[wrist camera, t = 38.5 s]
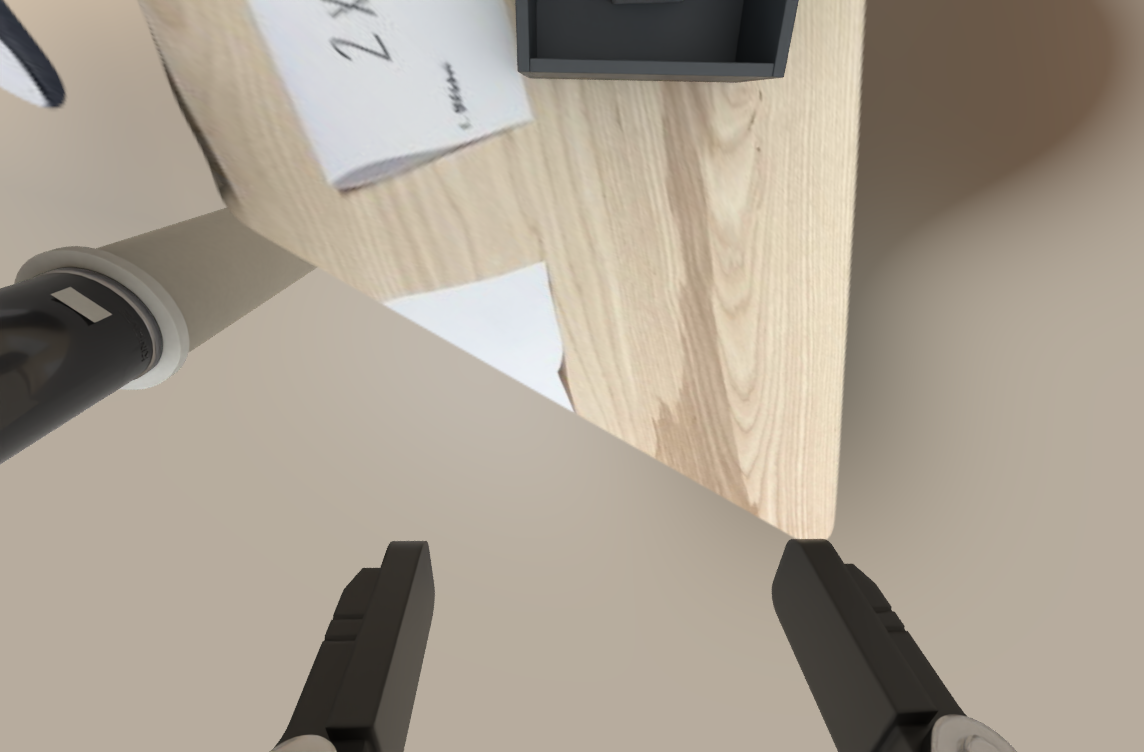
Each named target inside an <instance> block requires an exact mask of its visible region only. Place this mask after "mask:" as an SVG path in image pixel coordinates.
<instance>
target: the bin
mask: <svg viewBox="0 0 1144 752" xmlns="http://www.w3.org/2000/svg"><path fill="white" fill-rule="evenodd" d="M798 1H799V0H683V1H682V2H675V3H634V4H613V3H612V0H516V33H517V66H518V72H520V73H521V74H523V75H525V76H527V77H528V78H546V79H594V80H642V81H690V82H746V81H755V80H764V79H773V78H782V77H784V73H785V68H786V63H787V58H788V53H789V47H790V42H791V37H792V32H793V27H794V21H795V16H796V11H797V6H798Z"/></svg>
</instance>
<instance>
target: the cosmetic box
mask: <svg viewBox="0 0 1144 752" xmlns="http://www.w3.org/2000/svg"><path fill="white" fill-rule="evenodd" d="M682 1H683V0H612V3H613V4H634V3H675V2H682Z"/></svg>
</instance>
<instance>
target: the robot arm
mask: <svg viewBox="0 0 1144 752" xmlns="http://www.w3.org/2000/svg"><path fill="white" fill-rule="evenodd" d="M162 352H163V339H162V334H161V330H160V328H159V325H158V323H157V321H156V319H155V317H154V316H153V314H152V313H151V311H150V310H149V309H148V307H147V306H146V305H145V304H144V303H143V302H142V301H141V299H139V298H138V297H137V296H136V295H135V294H134V293H133V292H132V291H130V290H129V289H128V288H126V287H125V286H124V285H122V284H120V283H119V282H117V281H116V280H114V279H112V278H110V277H108V276H106V275H103V274H101V273H98V272H95V271H92V270H88V269H84V268H76V267H64V268H58V269H54V270H51V271H48V272H45V273H42V274H39V275H37V276H35V277H33V278H32V279H29V280H26V281H23V282H20V283H16V284H14V285H10V286H7V287H4V288H1V289H0V464H2V463H3V462H5V461H6V460H8V459H9V458H11V457H13V456H14V455H16V454H17V453H19V452H20V451H22V450H24V449H25V448H26V447H28V446H30V445H31V444H33V443H35V442H36V441H37V440H39V439H41V438H42V437H44V436H46V435H47V434H48V433H50V432H52V431H53V430H55V429H57V428H58V427H60V426H61V425H63V424H64V423H66V422H68V421H69V420H71V419H72V418H74V417H75V416H77V415H79V414H80V413H82V412H83V411H84V410H86V409H88V408H90V407H91V406H93V405H94V404H96V403H97V402H99V401H101V400H102V399H104V398H105V397H107V396H108V395H110V394H112V393H113V392H115V391H116V390H118V389H120V388H121V387H123V386H124V385H126V384H127V383H129V382H130V381H132V380H135V379H137V378H139V377H141V376H142V375H144V374H145V373H147V372H148V371H150V370H151V369H153V368H154V367H155V366H156V365H157V363H158V362H159V360H160V358H161V356H162ZM434 592H435V590H434V580H433V573H432V566H431V559H430V552H429V546H428V542H427V541H392V542H390V544H389V546H388V548H387V550H386V553H385V556H384V559H383V562H382V565H381V568H362V570H361V571H360V572H359V573H358V574H357V575H356V576H355V577H354V579H353V580H352V581H351V582H350V583H349V584H348V585H347V586H346V588H345V589H344V590H343V593H342V595H341V598H340V600H339V603H338V605H337V607H336V610H335V612H334V615H333V620H331V622H330V624H329V627H328V630H327V632H326V635H325V640H324V641H323V642H322V644H321V647H320V649H319V652H318V654H317V657H316V659H315V661H314V664H313V666H312V669H311V671H310V674H309V676H308V679H307V681H306V683H305V686H304V688H303V691H302V693H301V696H300V698H299V701H298V703H297V706H296V708H295V711H294V713H293V715H292V718H291V720H290V723H289V725H288V727H287V729H286V731H285V733H284V734H283V736H282V738H281V739H280V741H279V742H278V743H277V745H276V746H275V747H274V748H273V749H272V750H271V751H270V752H403V751H404V746H405V742H406V737H407V733H408V728H409V723H410V719H411V714H412V709H413V705H414V700H415V695H416V691H417V686H418V681H419V677H420V672H421V668H422V663H423V658H424V654H425V649H426V644H427V640H428V634H429V630H430V626H431V621H432V616H433V610H434V597H435V593H434ZM772 600H773V605H774V608H775V611H776V614H777V616H778V618H779V621H780V623H781V625H782V627H783V629H784V632H785V634H786V636H787V638H788V641H789V643H790V645H791V647H792V650H793V652H794V654H795V656H796V659H797V661H798V663H799V665H800V667H801V670H802V672H803V674H804V676H805V679H806V681H807V683H808V685H809V687H810V690H811V692H812V694H813V696H814V699H815V701H816V703H817V705H818V708H819V710H820V712H821V714H822V717H823V719H824V721H825V723H826V725H827V728H828V730H829V732H830V734H831V737H832V739H833V741H834V743H835V745H836V748H837V750H838V752H1017V751H1016V750H1015V749H1014V748H1013V747H1012V746H1011V745H1010V744H1009V743H1008V742H1007V741H1006V740H1005V739H1004V738H1003V737H1001V736H1000V735H999V734H998V733H997V732H995V731H994V730H992V729H991V728H990V727H988V726H986V725H985V724H983V723H981V722H979V721H977V720H974V719H973V718H969V717H967V716H966V715H965V714H964V712H963V711H962V710H961V708H960V707H959V706H958V704H957V703H956V701H955V700H954V698H953V697H952V696H951V694H950V693H949V691H948V690H947V688H946V687H945V685H944V684H943V682H942V681H941V679H940V678H939V676H938V675H937V673H936V672H935V670H934V669H933V668H932V666H931V665H930V663H929V662H928V660H927V659H926V657H925V656H924V654H923V653H922V651H921V650H920V648H919V647H918V645H917V644H916V643H915V641H914V640H913V638H912V637H911V635H910V634H909V632H908V631H905V629H904V625H903V623H902V622H901V620H900V619H899V618H898V616H897V615H896V613H895V612H893V611H892V610H891V606H890V604H889V603H888V601H887V600H886V598H885V597H884V595H883V594H882V593H881V591H880V590H879V588H878V587H877V585H876V584H875V583H874V582H873V581H872V580H871V579H870V578H869V577H867V576H866V575H865V574H864V573H863V572H862V571H861V570H859V569H858V568H857V567H856V566H855V565H854V564H844V563H843V561H842V560H841V558H840V556H839V555H838V553H837V552H836V550H835V549H834V547H833V546H832V544H831V543H830V542H829V541H827V540H825V539H791V540H789V541H788V543H787V544H786V547H785V550H784V553H783V555H782V558H781V561H780V564H779V567H778V569H777V572H776V575H775V578H774V581H773V584H772Z"/></svg>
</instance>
